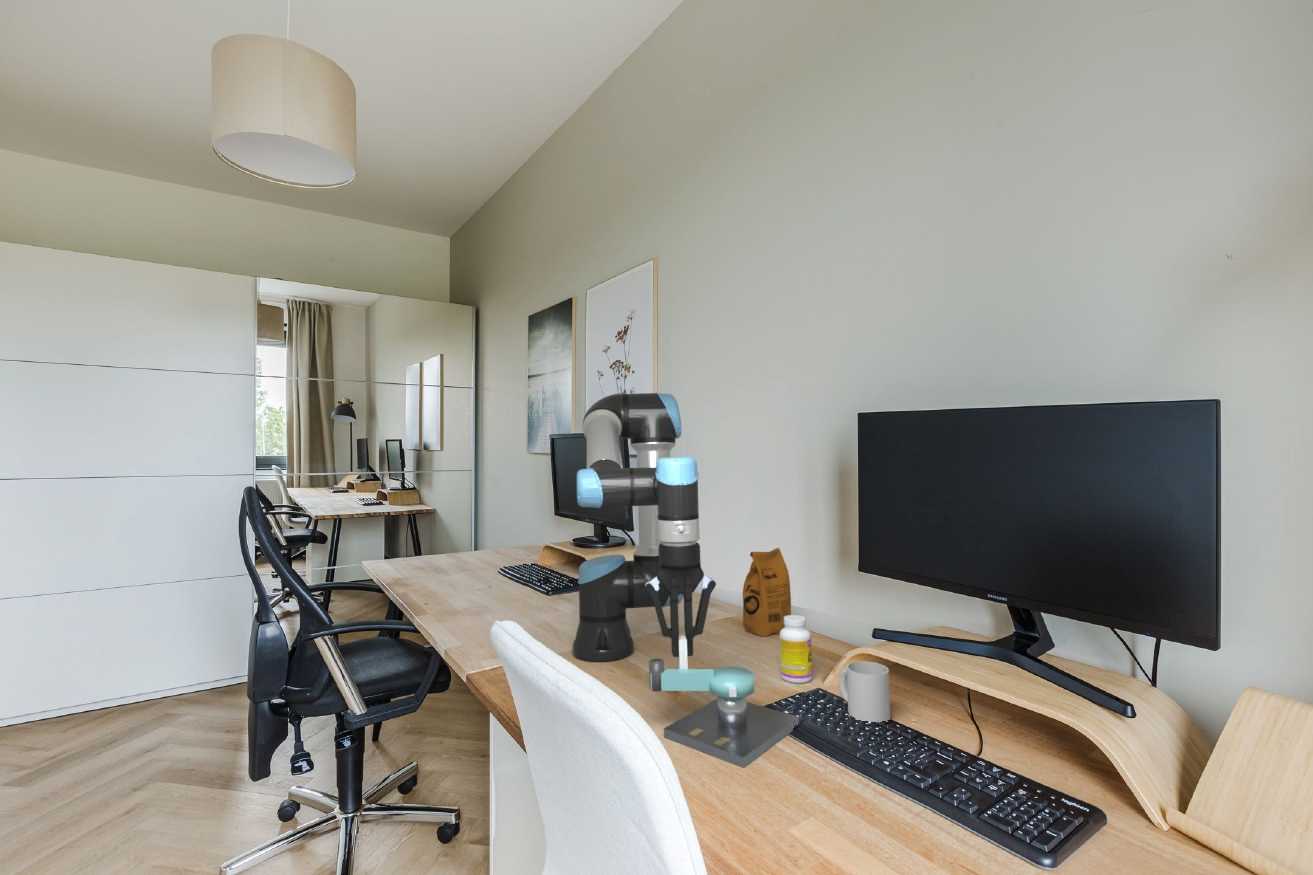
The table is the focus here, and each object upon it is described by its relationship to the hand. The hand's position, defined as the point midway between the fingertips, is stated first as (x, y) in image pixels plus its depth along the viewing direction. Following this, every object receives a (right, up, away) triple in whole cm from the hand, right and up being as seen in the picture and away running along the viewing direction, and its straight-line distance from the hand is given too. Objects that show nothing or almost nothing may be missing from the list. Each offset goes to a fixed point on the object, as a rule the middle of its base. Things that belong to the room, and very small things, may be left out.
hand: (683, 674), depth 106 cm
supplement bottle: (+25, -9, +20) cm, 34 cm away
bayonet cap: (+3, -1, -3) cm, 4 cm away
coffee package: (+26, -11, +56) cm, 62 cm away
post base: (+8, -9, -4) cm, 13 cm away
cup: (+33, -8, +2) cm, 34 cm away
